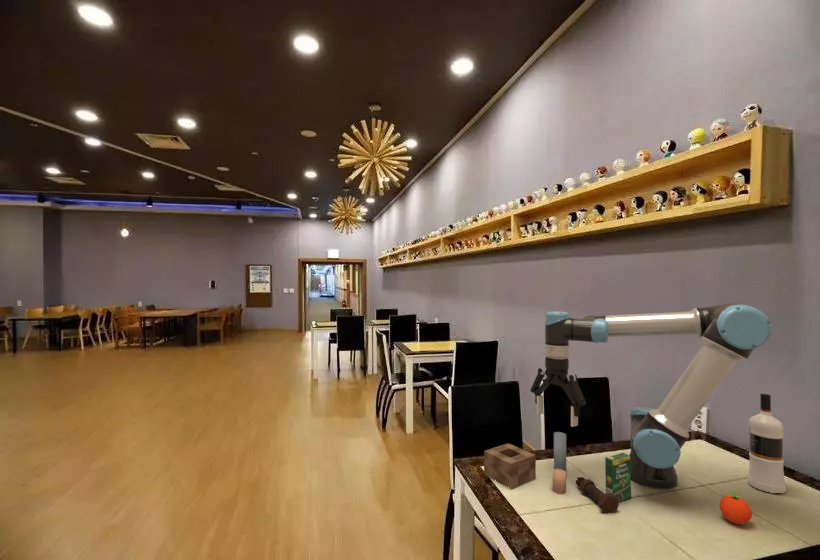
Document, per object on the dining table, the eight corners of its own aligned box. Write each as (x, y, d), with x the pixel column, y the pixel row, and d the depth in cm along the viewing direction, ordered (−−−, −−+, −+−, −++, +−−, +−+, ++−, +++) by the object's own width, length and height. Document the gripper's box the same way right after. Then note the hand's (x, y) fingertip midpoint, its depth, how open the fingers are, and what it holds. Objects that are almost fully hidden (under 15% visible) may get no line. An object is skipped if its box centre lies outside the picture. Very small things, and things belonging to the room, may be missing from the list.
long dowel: (568, 476, 134) (568, 434, 134) (561, 479, 132) (561, 437, 132) (558, 471, 137) (558, 431, 137) (551, 474, 135) (551, 433, 135)
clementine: (719, 510, 114) (719, 485, 114) (751, 519, 109) (751, 493, 109) (718, 523, 107) (718, 496, 108) (752, 533, 103) (752, 505, 103)
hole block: (535, 479, 132) (535, 455, 132) (511, 489, 125) (511, 463, 125) (508, 465, 142) (508, 443, 142) (484, 474, 135) (484, 450, 135)
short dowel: (568, 491, 124) (568, 472, 124) (561, 495, 122) (561, 475, 122) (557, 486, 127) (557, 467, 127) (550, 489, 125) (549, 470, 125)
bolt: (581, 492, 127) (613, 518, 112) (569, 485, 126) (599, 510, 111) (589, 476, 128) (622, 499, 113) (577, 469, 127) (607, 491, 112)
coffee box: (612, 505, 116) (612, 460, 116) (604, 500, 119) (604, 456, 119) (631, 499, 119) (631, 455, 120) (623, 494, 122) (623, 452, 122)
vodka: (781, 498, 120) (779, 399, 121) (742, 485, 128) (741, 392, 129) (790, 490, 125) (789, 395, 126) (753, 478, 133) (752, 388, 134)
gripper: (520, 352, 143) (520, 411, 143) (583, 364, 122) (583, 433, 122) (534, 350, 147) (534, 408, 147) (597, 362, 126) (597, 428, 126)
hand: (556, 419), depth 134 cm, fingers open, 13 cm apart
